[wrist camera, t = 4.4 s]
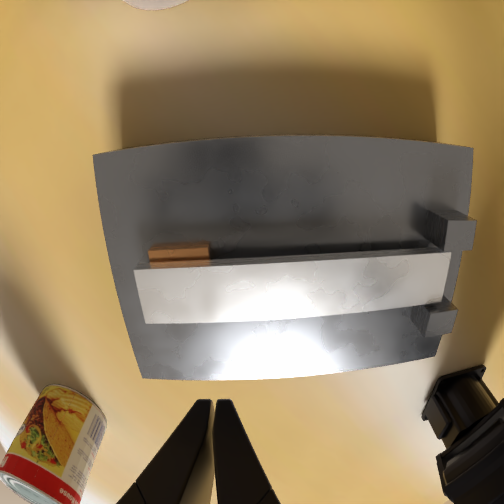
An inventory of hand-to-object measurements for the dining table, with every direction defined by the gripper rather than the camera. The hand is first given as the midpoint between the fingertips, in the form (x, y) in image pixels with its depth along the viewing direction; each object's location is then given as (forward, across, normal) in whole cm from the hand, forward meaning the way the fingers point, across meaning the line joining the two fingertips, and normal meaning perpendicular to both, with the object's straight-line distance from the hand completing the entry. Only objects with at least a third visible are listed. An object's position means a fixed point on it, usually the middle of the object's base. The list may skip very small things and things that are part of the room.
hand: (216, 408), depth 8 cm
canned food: (+13, +18, +17) cm, 28 cm away
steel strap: (+8, -4, 0) cm, 9 cm away
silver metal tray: (+12, -4, 0) cm, 13 cm away
